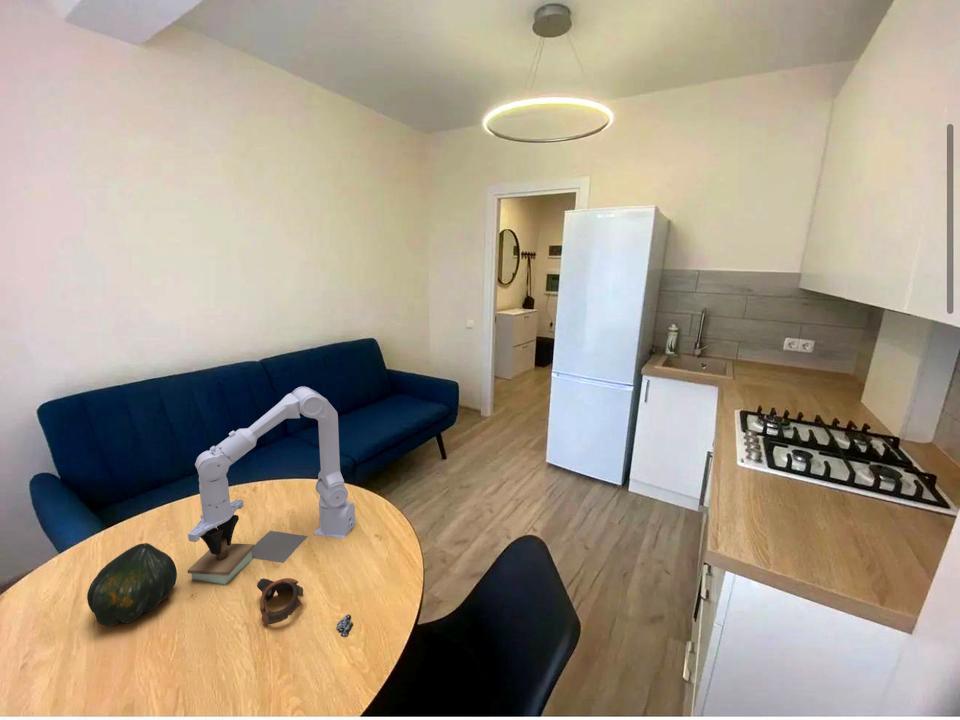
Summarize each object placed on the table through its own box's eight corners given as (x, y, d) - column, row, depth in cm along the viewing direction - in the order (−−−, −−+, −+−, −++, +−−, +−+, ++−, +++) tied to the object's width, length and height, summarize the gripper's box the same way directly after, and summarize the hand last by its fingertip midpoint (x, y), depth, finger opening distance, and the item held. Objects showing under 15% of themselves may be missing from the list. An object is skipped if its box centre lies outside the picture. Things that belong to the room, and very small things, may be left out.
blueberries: (362, 611, 89) (362, 603, 89) (365, 639, 82) (365, 630, 81) (331, 619, 87) (330, 612, 86) (331, 648, 79) (330, 640, 79)
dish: (252, 560, 102) (251, 550, 102) (225, 586, 93) (224, 575, 93) (222, 555, 103) (220, 545, 103) (192, 581, 95) (190, 570, 94)
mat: (308, 537, 112) (308, 536, 112) (283, 564, 101) (283, 562, 101) (270, 531, 114) (270, 530, 114) (241, 557, 103) (241, 556, 103)
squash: (52, 622, 77) (106, 562, 77) (101, 570, 91) (147, 520, 92) (123, 651, 81) (174, 594, 82) (160, 598, 95) (203, 550, 96)
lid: (254, 547, 103) (252, 529, 101) (228, 575, 93) (226, 556, 92) (217, 545, 103) (214, 527, 102) (187, 573, 93) (184, 554, 92)
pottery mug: (316, 596, 92) (310, 584, 87) (287, 640, 85) (278, 630, 80) (275, 573, 95) (267, 560, 89) (243, 614, 88) (232, 602, 82)
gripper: (224, 482, 102) (229, 528, 105) (173, 514, 88) (180, 567, 91) (248, 485, 101) (253, 532, 104) (201, 518, 87) (207, 571, 90)
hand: (221, 548), depth 97 cm, fingers closed on lid, 3 cm apart
